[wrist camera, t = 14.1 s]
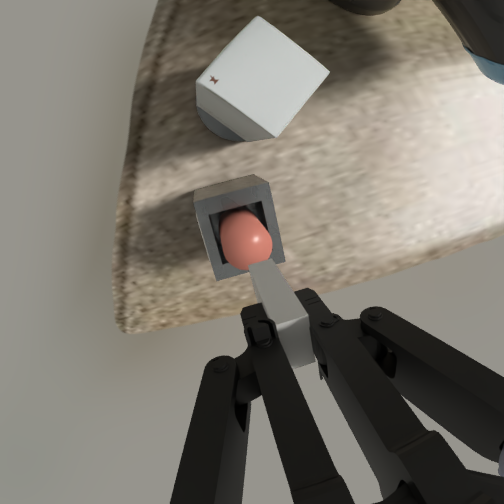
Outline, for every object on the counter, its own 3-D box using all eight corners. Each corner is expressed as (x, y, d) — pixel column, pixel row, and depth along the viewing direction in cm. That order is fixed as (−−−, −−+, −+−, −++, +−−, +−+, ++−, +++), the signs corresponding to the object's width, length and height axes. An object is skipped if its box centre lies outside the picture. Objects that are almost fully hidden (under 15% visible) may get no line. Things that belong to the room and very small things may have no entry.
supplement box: (248, 144, 32) (275, 142, 20) (194, 105, 30) (191, 80, 18) (287, 95, 31) (333, 72, 19) (236, 57, 28) (256, 12, 17)
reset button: (213, 212, 30) (217, 230, 23) (252, 201, 30) (266, 217, 24) (223, 249, 31) (230, 275, 25) (261, 238, 31) (276, 262, 25)
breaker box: (193, 190, 34) (190, 202, 26) (253, 174, 34) (268, 182, 27) (211, 253, 37) (214, 281, 29) (268, 237, 37) (285, 261, 30)
